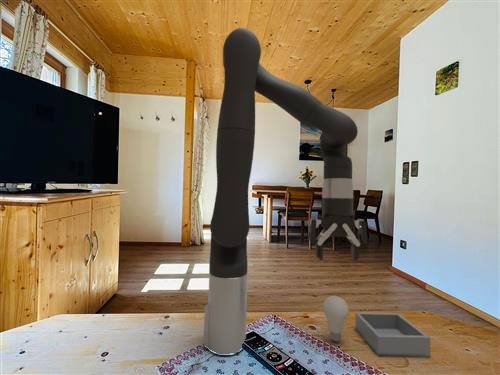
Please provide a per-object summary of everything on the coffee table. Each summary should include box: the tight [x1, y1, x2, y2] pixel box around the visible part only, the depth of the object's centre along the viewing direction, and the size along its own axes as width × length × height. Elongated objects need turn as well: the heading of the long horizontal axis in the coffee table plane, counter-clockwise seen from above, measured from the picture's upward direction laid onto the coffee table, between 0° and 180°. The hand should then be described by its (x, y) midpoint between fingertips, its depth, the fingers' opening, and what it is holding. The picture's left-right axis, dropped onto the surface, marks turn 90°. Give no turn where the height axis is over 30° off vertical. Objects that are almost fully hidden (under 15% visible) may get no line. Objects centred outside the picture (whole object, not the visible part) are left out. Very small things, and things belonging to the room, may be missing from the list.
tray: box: [354, 312, 431, 358], centre depth 63 cm, size 12×12×4 cm
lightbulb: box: [322, 295, 350, 343], centre depth 63 cm, size 6×6×11 cm
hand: (337, 260), depth 64 cm, fingers open, 8 cm apart
